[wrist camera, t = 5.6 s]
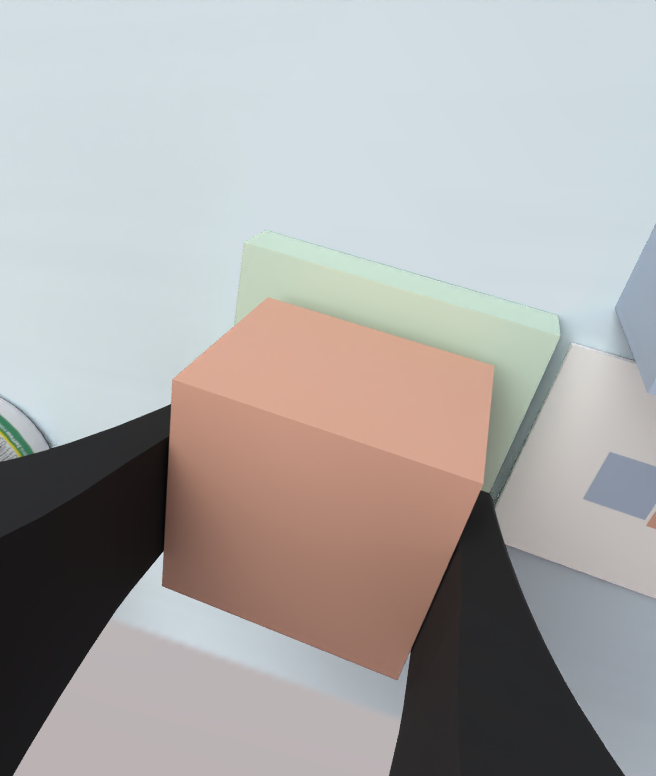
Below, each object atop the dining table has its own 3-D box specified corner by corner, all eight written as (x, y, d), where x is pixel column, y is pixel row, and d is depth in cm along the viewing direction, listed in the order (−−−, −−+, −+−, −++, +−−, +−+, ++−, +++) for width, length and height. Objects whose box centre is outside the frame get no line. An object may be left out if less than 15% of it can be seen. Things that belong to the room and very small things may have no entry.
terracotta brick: (494, 365, 12) (483, 483, 8) (427, 537, 14) (397, 679, 11) (267, 297, 12) (172, 379, 9) (242, 471, 15) (162, 586, 12)
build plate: (558, 315, 12) (560, 336, 11) (459, 538, 16) (455, 569, 15) (264, 230, 14) (244, 242, 13) (234, 456, 17) (216, 479, 16)
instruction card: (866, 429, 12) (870, 434, 11) (709, 614, 15) (711, 619, 15) (571, 342, 13) (571, 345, 12) (482, 532, 16) (482, 536, 16)
